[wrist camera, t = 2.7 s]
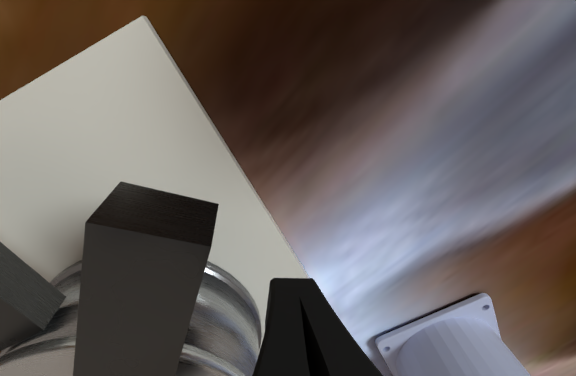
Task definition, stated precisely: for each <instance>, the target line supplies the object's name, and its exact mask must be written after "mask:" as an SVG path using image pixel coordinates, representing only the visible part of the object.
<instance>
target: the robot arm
mask: <svg viewBox="0 0 576 376" xmlns="http://www.w3.org/2000/svg"><path fill="white" fill-rule="evenodd" d="M375 343H376V346H377V348H378V350H379V352H380V353H381V355H382V357H383V359H384V360H385V362H386V364H387V366H388V367H389V369H390V371H391V373H392V375H393V376H531V375H530V374H529V373H528V372H527V370H526V369H525V368H524V367H523V366H522V364H521V363H520V362H519V361H518V360H517V358H516V357H515V356H514V355H513V353H512V352H511V351H510V350H509V349H508V347H507V346H506V345H505V344H504V343H503V341H502V340H501V336H500V332H499V328H498V324H497V320H496V316H495V312H494V308H493V304H492V300H491V298H490V297H489V296H488V295H487V294H486V293H481V294H478V295H476V296H473V297H471V298H469V299H466V300H464V301H461V302H459V303H457V304H454V305H452V306H450V307H447V308H445V309H443V310H440V311H438V312H436V313H433V314H431V315H429V316H426V317H424V318H422V319H419V320H417V321H414V322H412V323H410V324H407V325H405V326H403V327H400V328H398V329H396V330H393V331H391V332H389V333H386V334H384V335H382V336H379V337H378V338H377V339H376V341H375ZM252 376H383V375H382V374H381V373H380V371H379V370H378V369H377V368H376V367H375V365H374V364H373V363H372V362H371V361H370V359H369V358H368V357H367V356H366V354H365V353H364V352H363V351H362V349H361V348H360V347H359V345H358V344H357V343H356V341H355V340H354V339H353V337H352V336H351V335H350V333H349V332H348V330H347V329H346V328H345V326H344V325H343V324H342V322H341V321H340V319H339V318H338V316H337V315H336V313H335V312H334V310H333V309H332V307H331V306H330V304H329V303H328V301H327V300H326V298H325V297H324V295H323V294H322V292H321V290H320V289H319V287H318V285H317V284H316V282H315V281H314V280H313V279H312V278H273V279H272V280H270V285H269V293H268V302H267V310H266V318H265V333H264V337H263V341H262V345H261V348H260V352H259V355H258V359H257V362H256V366H255V369H254V372H253V375H252Z"/></svg>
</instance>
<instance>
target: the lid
mask: <svg viewBox="0 0 576 376" xmlns="http://www.w3.org/2000/svg"><path fill="white" fill-rule="evenodd" d="M218 206H219V204H217V203H213V202H209V201H204V200H200V199H196V198H191V197H187V196H182V195H178V194H174V193H169V192H165V191H161V190H156V189H152V188H148V187H143V186H139V185H134V184H130V183H126V182H121V181H120V183H119V184H118V185H117V186H116V187H115V188H114V190H113V191H112V192H111V193H110V194H109V195H108V197H107V198H106V199H105V200H104V201H103V202H102V203H101V205H100V206H99V207H98V208H97V209H96V210H95V212H94V213H93V214H92V215H91V216H90V217H89V219H88V220H87V221H86V222H85V233H84V245H83V257H82V270H81V282H80V294H79V306H78V318H77V331H76V335H75V336H67V337H61V338H56V339H51V340H45V341H42V342H38V343H35V344H31V345H28V346H24V347H22V348H19V349H17V350H14V351H12V352H9V353H7V354H5V355H2V356H1V357H0V376H246V375H245V374H243V373H242V372H241V371H240V370H239V369H237V368H236V367H234V366H233V365H231V364H230V363H228V362H227V361H225V360H223V359H221V358H219V357H217V356H215V355H213V354H211V353H209V352H207V351H204V350H201V349H199V348H196V347H193V346H190V345H187V344H184V342H185V339H186V335H187V331H188V328H189V324H190V321H191V317H192V314H193V310H194V307H195V303H196V299H197V296H198V292H199V289H200V285H201V282H202V278H203V275H204V271H205V268H206V264H207V260H208V257H209V253H210V250H211V246H212V240H213V234H214V229H215V223H216V217H217V211H218Z"/></svg>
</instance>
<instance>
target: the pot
mask: <svg viewBox="0 0 576 376" xmlns="http://www.w3.org/2000/svg"><path fill="white" fill-rule="evenodd" d="M81 270H82V260H80V261H78V262H76V263H74V264H73V265H71V266H69V267H68V268H66V269H64V270H63V271H62V272H60V273H59V274H58V275H57V276H56V277H54V278H53V279H52V281H51V282H50V283H49V282H48V281H47V280H46V279H44V278H43V277H42V276H41V275H40V274H38V273H37V272H36V271H35V270H34V269H32V268H31V267H30V266H29V265H28V264H26V263H25V262H24V261H23V260H22V259H20V258H19V257H18V256H17V255H16V254H14V253H13V252H12V251H11V250H10V249H8V248H7V247H6V246H5V245H4V244H2V243H1V242H0V351H1V352H0V357H1V356H2V355H5V354H7V353H9V352H12V351H14V350H17V349H19V348H22V347H24V346H28V345H31V344H35V343H38V342H42V341H45V340H51V339H56V338H61V337H67V336H75V335H76V331H77V318H78V306H79V294H80V282H81ZM261 338H262V333H261V318H260V314H259V310H258V308H257V305H256V303H255V301H254V299H253V298H252V296H251V295H250V293H249V292H248V290H247V289H246V288H245V287H244V286H243V285H242V284H241V283H240V282H239V281H238V280H237V279H236V278H235V277H233V276H232V275H231V274H230V273H228V272H227V271H225V270H223V269H222V268H220V267H219V266H217V265H215V264H213V263H211V262H209V261H207V264H206V268H205V271H204V275H203V278H202V282H201V285H200V289H199V292H198V296H197V299H196V303H195V307H194V310H193V314H192V317H191V321H190V324H189V328H188V331H187V335H186V339H185V342H184V344H187V345H190V346H193V347H196V348H199V349H201V350H204V351H207V352H209V353H211V354H213V355H215V356H217V357H219V358H221V359H223V360H225V361H227V362H228V363H230V364H231V365H233V366H234V367H236V368H237V369H239V370H240V371H241V372H242V373H243V374H245V375H246V376H252V375H253V372H254V369H255V366H256V362H257V359H258V355H259V349H260V346H261Z"/></svg>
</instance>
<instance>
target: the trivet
mask: <svg viewBox="0 0 576 376" xmlns="http://www.w3.org/2000/svg"><path fill="white" fill-rule="evenodd" d="M120 181H121V182H126V183H130V184H134V185H139V186H143V187H148V188H152V189H156V190H161V191H165V192H169V193H174V194H178V195H182V196H187V197H191V198H196V199H200V200H204V201H209V202H213V203H217V204H219V206H218V211H217V217H216V223H215V229H214V234H213V240H212V246H211V250H210V253H209V257H208V260H207V261H209V262H211V263H213V264H215V265H217V266H219V267H220V268H222V269H223V270H225V271H227V272H228V273H230V274H231V275H232V276H233V277H235V278H236V279H237V280H238V281H239V282H240V283H241V284H242V285H243V286H244V287H245V288H246V289H247V290H248V292H249V293H250V295H251V296H252V298H253V299H254V301H255V303H256V305H257V308H258V310H259V314H260V318H261V333H262V338H261V345H262V341H263V337H264V333H265V318H266V310H267V302H268V293H269V285H270V280H272V279H273V278H310V277H309V276H308V274H307V272H306V271H305V269H304V268H303V266H302V264H301V263H300V261H299V260H298V258H297V256H296V255H295V253H294V252H293V250H292V248H291V247H290V245H289V244H288V242H287V240H286V239H285V237H284V236H283V234H282V232H281V231H280V229H279V228H278V226H277V224H276V223H275V221H274V220H273V218H272V216H271V215H270V213H269V212H268V210H267V208H266V207H265V205H264V204H263V202H262V201H261V199H260V197H259V196H258V194H257V193H256V191H255V189H254V188H253V186H252V185H251V183H250V181H249V180H248V178H247V177H246V175H245V173H244V172H243V170H242V169H241V167H240V165H239V164H238V162H237V161H236V159H235V157H234V156H233V154H232V153H231V151H230V149H229V148H228V146H227V145H226V143H225V141H224V140H223V138H222V137H221V135H220V133H219V132H218V130H217V129H216V127H215V125H214V124H213V122H212V121H211V119H210V117H209V116H208V114H207V113H206V111H205V109H204V108H203V106H202V105H201V103H200V101H199V100H198V98H197V97H196V95H195V94H194V92H193V90H192V89H191V87H190V86H189V84H188V82H187V81H186V79H185V78H184V76H183V74H182V73H181V71H180V70H179V68H178V66H177V65H176V63H175V62H174V60H173V58H172V57H171V55H170V54H169V52H168V50H167V49H166V47H165V46H164V44H163V42H162V41H161V39H160V38H159V36H158V34H157V33H156V31H155V30H154V28H153V26H152V25H151V23H150V22H149V20H148V18H147V17H146V16H141V17H140V18H138V19H136V20H135V21H133V22H131V23H129V24H128V25H126V26H124V27H123V28H121V29H119V30H118V31H116V32H114V33H113V34H111V35H109V36H108V37H106V38H104V39H103V40H101V41H99V42H98V43H96V44H94V45H93V46H91V47H89V48H87V49H86V50H84V51H82V52H81V53H79V54H77V55H76V56H74V57H72V58H71V59H69V60H67V61H66V62H64V63H62V64H61V65H59V66H57V67H56V68H54V69H52V70H51V71H49V72H47V73H45V74H44V75H42V76H40V77H39V78H37V79H35V80H34V81H32V82H30V83H29V84H27V85H25V86H24V87H22V88H20V89H19V90H17V91H15V92H14V93H12V94H10V95H9V96H7V97H5V98H3V99H2V100H0V242H1V243H2V244H4V245H5V246H6V247H7V248H8V249H10V250H11V251H12V252H13V253H14V254H16V255H17V256H18V257H19V258H20V259H22V260H23V261H24V262H25V263H26V264H28V265H29V266H30V267H31V268H32V269H34V270H35V271H36V272H37V273H38V274H40V275H41V276H42V277H43V278H44V279H46V280H47V281H48V282H49V283H50V282H51V281H52V279H53V278H54V277H56V276H57V275H58V274H59V273H60V272H62V271H63V270H64V269H66V268H68V267H69V266H71V265H73V264H74V263H76V262H78V261H80V260H82V257H83V245H84V233H85V222H86V221H87V220H88V219H89V217H90V216H91V215H92V214H93V213H94V212H95V210H96V209H97V208H98V207H99V206H100V205H101V203H102V202H103V201H104V200H105V199H106V198H107V197H108V195H109V194H110V193H111V192H112V191H113V190H114V188H115V187H116V186H117V185H118V184H119V183H120ZM260 348H261V346H260ZM259 352H260V349H259Z"/></svg>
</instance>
